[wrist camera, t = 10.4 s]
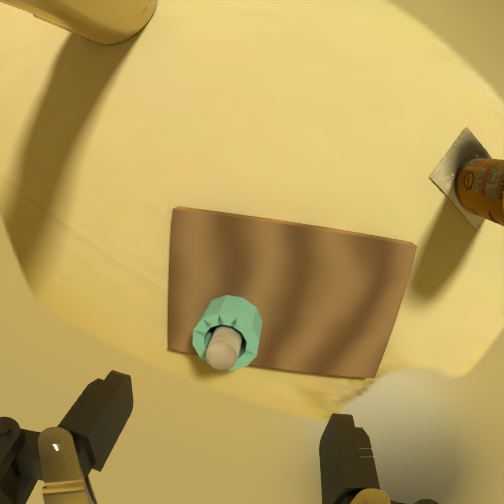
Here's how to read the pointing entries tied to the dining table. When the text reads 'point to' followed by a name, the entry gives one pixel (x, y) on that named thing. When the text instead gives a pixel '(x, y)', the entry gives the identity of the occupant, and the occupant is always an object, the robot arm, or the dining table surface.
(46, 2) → the robot arm
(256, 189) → the dining table surface
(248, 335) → the ring
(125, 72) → the dining table surface
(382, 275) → the board
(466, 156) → the condiment
